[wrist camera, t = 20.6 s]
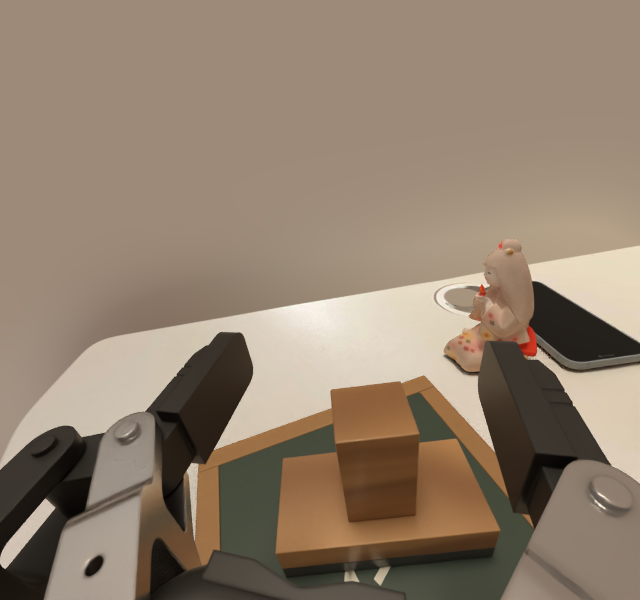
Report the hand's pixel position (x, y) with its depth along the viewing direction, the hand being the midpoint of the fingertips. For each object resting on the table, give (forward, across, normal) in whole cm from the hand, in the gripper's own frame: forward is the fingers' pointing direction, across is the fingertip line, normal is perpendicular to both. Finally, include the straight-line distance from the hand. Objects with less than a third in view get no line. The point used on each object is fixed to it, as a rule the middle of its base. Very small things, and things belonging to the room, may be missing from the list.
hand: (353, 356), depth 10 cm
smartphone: (+24, -18, +15) cm, 33 cm away
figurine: (+17, -10, +15) cm, 25 cm away
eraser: (+2, 0, +14) cm, 14 cm away
